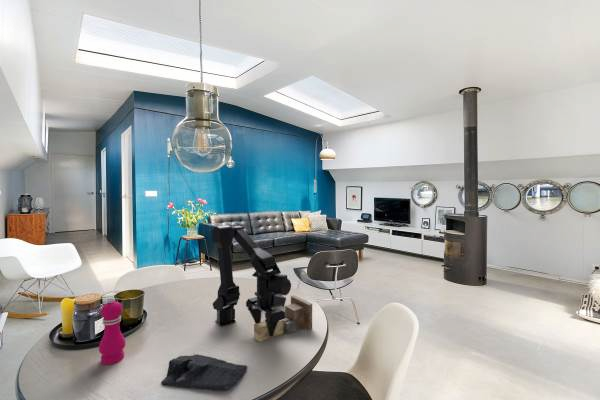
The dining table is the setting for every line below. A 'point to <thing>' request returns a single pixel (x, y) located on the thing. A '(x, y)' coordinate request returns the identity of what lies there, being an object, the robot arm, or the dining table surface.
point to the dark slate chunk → (203, 372)
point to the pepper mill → (112, 333)
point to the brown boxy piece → (298, 315)
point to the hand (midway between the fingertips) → (264, 331)
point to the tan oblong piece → (262, 330)
